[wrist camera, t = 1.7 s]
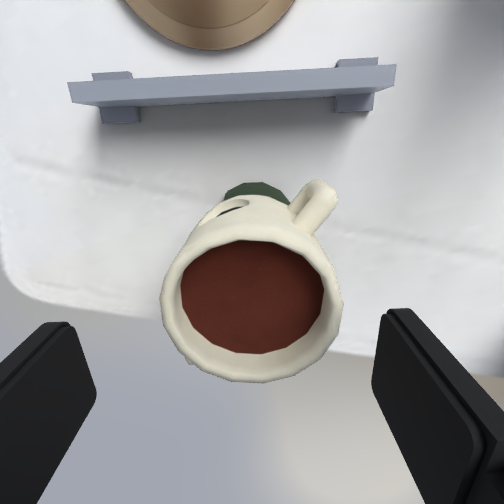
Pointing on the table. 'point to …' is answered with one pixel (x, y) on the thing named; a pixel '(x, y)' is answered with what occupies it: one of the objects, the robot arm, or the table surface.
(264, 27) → the coaster
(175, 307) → the character mug
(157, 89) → the grey cabinet handle
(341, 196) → the table surface
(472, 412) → the robot arm
